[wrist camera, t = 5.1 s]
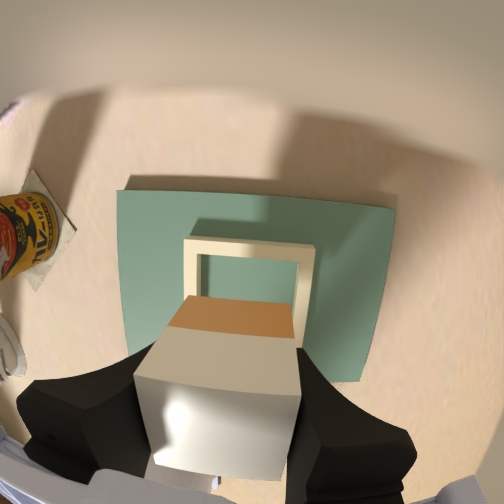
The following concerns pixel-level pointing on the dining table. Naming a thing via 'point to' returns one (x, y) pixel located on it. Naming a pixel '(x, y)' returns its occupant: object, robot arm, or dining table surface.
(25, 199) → the condiment
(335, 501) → the robot arm
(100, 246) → the dining table surface
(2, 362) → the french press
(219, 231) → the base plate
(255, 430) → the brick stack
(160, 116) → the dining table surface
